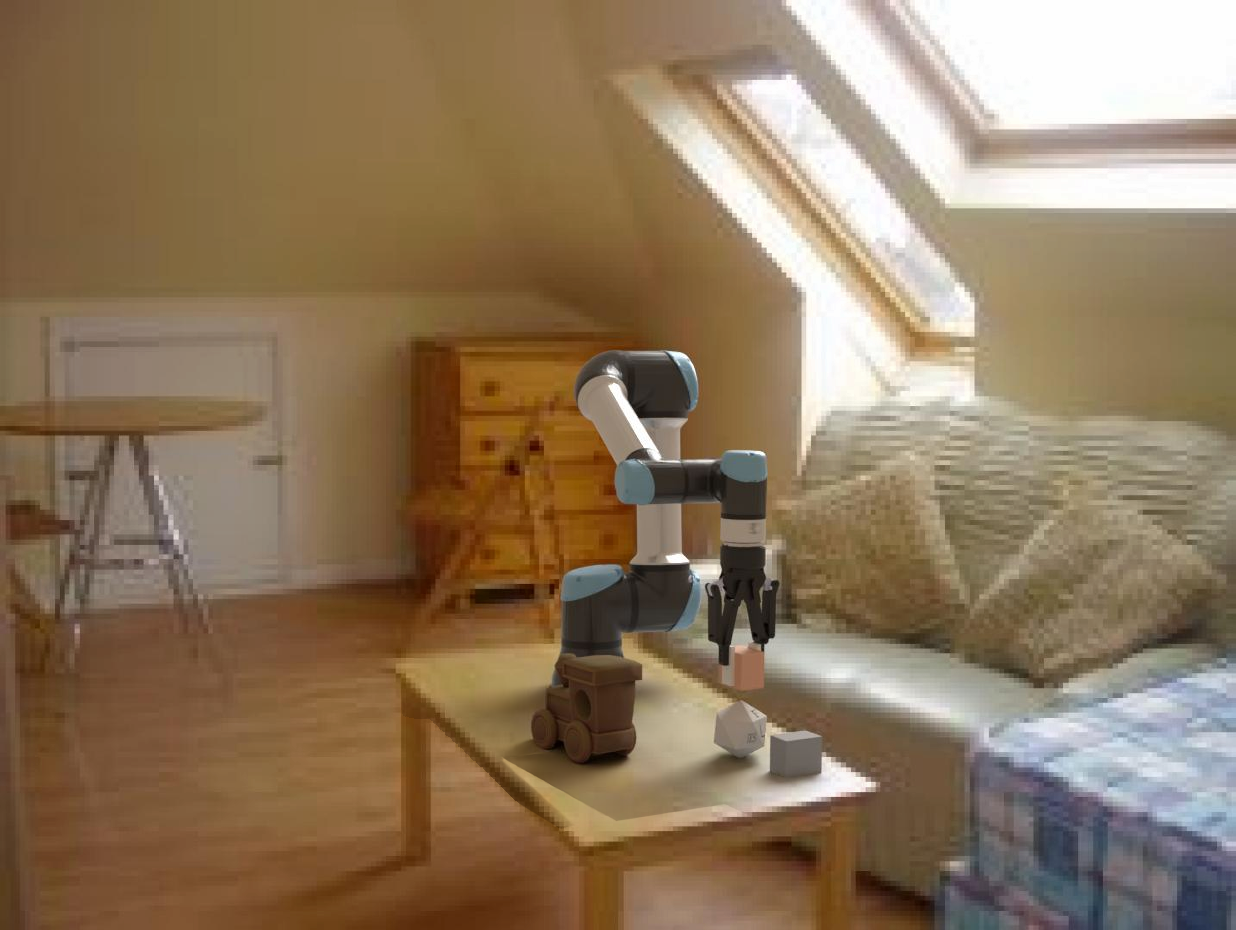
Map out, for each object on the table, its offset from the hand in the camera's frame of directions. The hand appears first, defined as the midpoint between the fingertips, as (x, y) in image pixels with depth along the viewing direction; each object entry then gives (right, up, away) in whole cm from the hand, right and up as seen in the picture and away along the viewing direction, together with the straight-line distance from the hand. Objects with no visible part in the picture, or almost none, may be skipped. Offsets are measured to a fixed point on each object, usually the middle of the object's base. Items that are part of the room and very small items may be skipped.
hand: (741, 682), depth 251 cm
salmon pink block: (0, 0, 0) cm, 0 cm away
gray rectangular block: (+8, -13, -7) cm, 17 cm away
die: (0, -13, +1) cm, 13 cm away
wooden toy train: (-26, -13, +4) cm, 29 cm away
